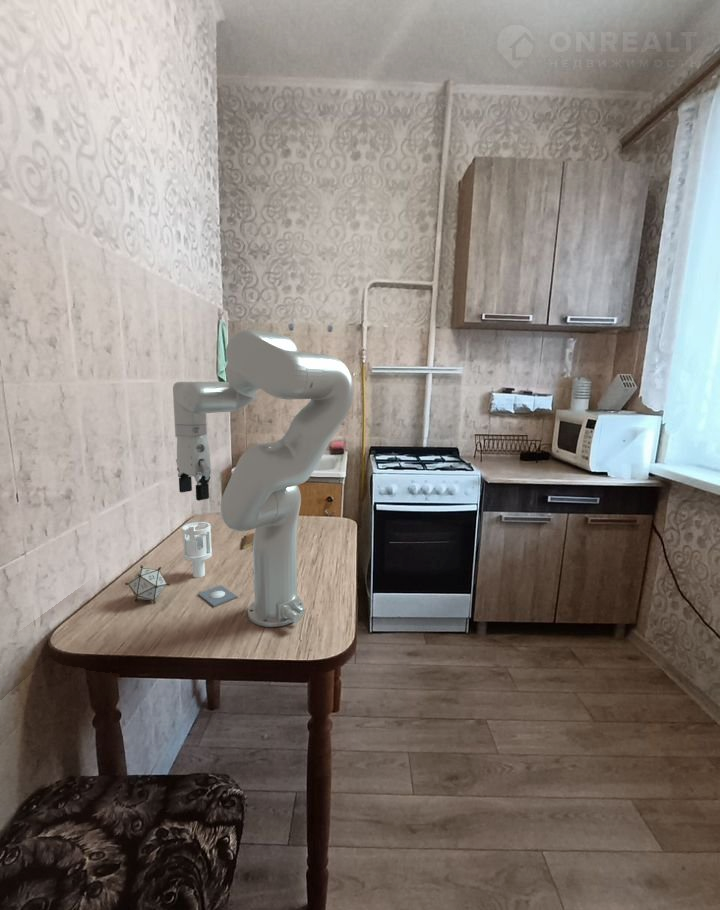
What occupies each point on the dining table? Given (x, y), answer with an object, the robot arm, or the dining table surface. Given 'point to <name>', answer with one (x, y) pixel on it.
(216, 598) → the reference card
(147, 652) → the dining table surface
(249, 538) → the shard
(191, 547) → the white cylindrical housing
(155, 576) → the game die
